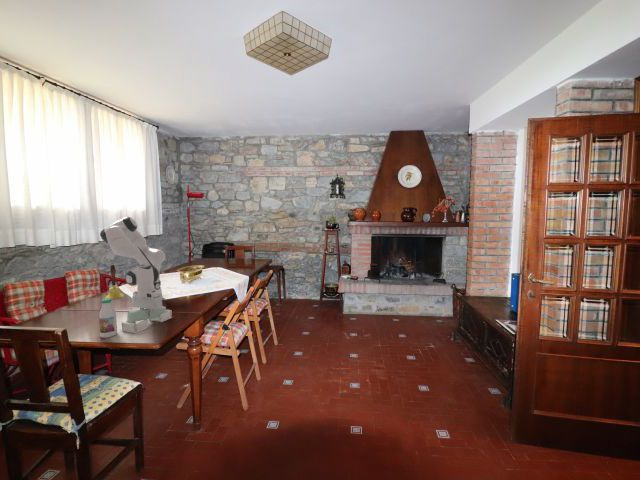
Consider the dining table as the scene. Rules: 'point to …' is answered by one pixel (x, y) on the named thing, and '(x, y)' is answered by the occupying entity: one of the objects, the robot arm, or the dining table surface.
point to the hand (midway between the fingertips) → (147, 315)
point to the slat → (144, 314)
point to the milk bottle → (107, 319)
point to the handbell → (113, 286)
